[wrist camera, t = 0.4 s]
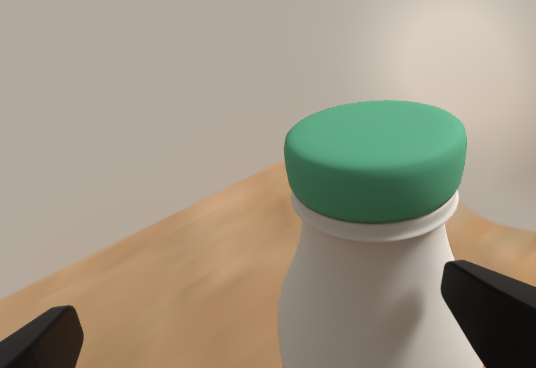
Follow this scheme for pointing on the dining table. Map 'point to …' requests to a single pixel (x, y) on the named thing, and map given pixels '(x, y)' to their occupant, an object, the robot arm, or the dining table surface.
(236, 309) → the dining table surface
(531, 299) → the robot arm
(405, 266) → the milk bottle
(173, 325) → the dining table surface
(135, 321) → the dining table surface
